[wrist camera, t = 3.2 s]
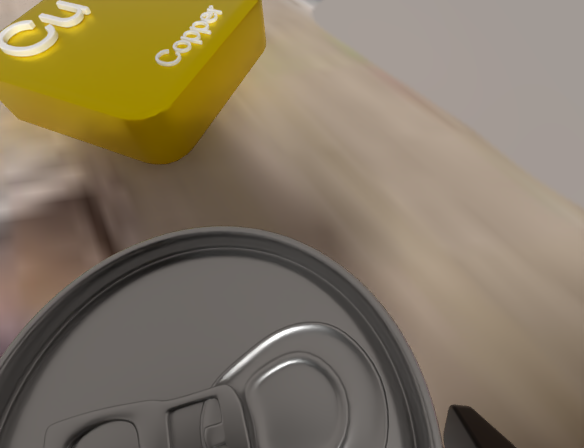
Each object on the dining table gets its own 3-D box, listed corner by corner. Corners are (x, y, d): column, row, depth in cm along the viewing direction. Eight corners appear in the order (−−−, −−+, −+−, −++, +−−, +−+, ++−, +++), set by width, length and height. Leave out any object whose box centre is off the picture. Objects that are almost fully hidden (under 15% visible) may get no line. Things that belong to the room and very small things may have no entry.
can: (379, 486, 13) (667, 764, 3) (215, 552, 12) (-283, 1291, 2) (322, 324, 16) (350, 157, 6) (188, 368, 15) (-60, 270, 5)
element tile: (177, 176, 21) (146, 119, 17) (3, 116, 25) (-58, 56, 21) (275, 40, 28) (269, -25, 24) (127, 8, 31) (100, -55, 27)
